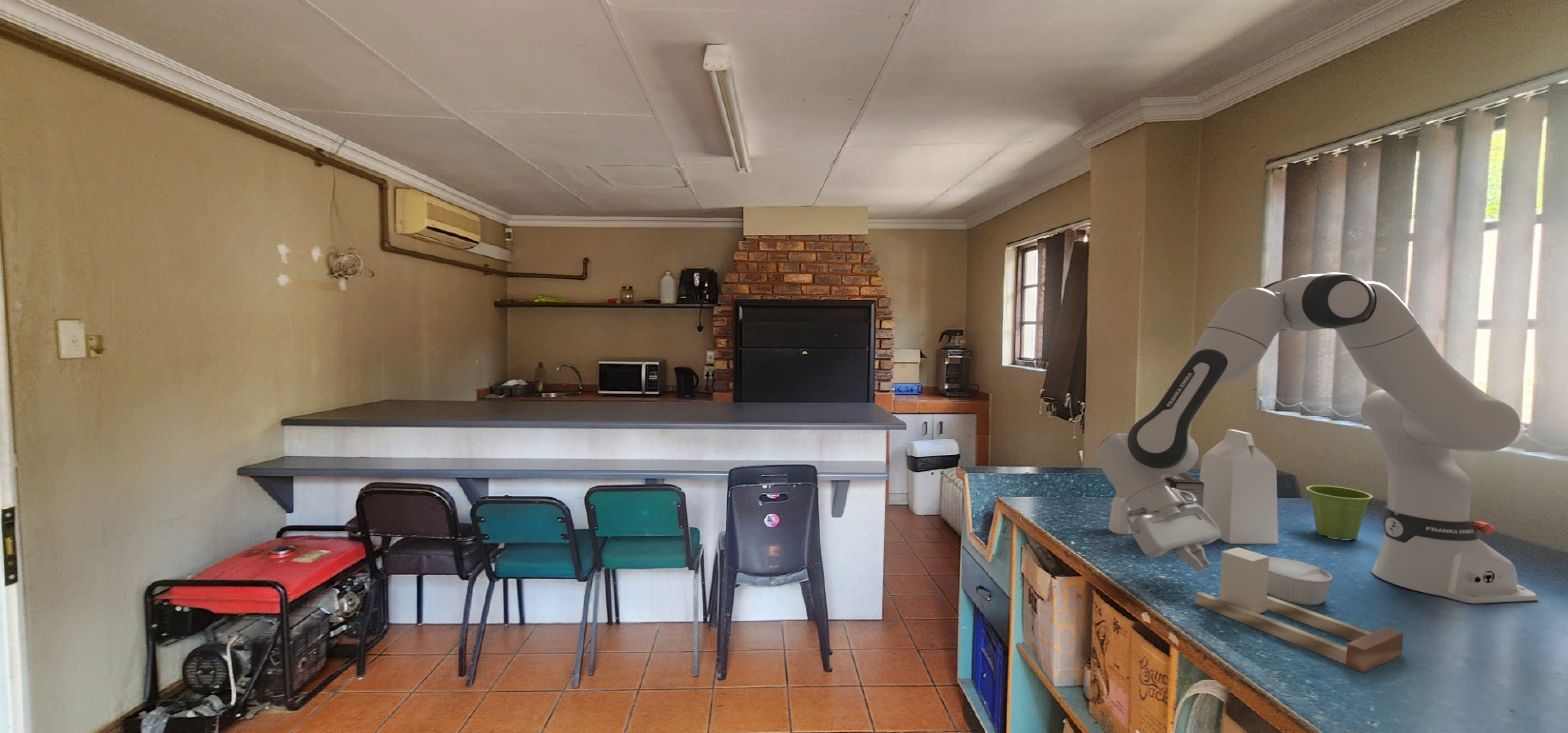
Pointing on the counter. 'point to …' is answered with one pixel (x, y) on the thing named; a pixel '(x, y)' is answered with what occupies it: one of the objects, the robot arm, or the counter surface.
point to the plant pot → (1338, 510)
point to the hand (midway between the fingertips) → (1204, 569)
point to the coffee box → (1187, 485)
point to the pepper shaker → (1119, 515)
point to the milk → (1240, 490)
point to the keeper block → (1244, 579)
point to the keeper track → (1357, 655)
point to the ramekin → (1297, 581)
